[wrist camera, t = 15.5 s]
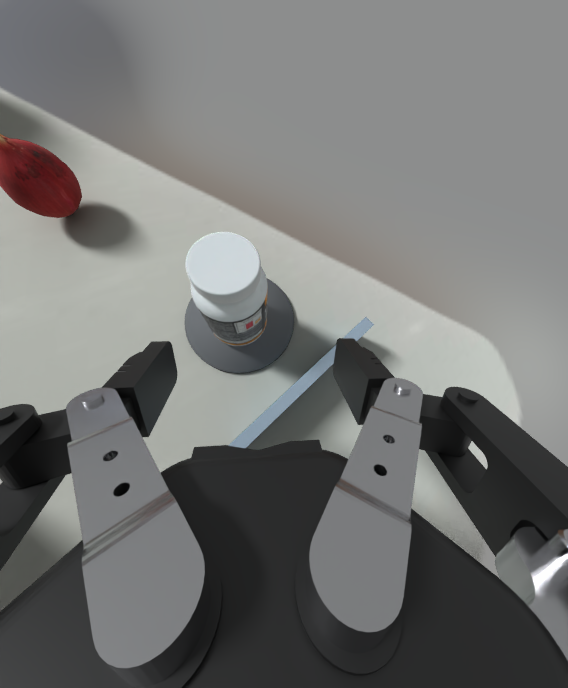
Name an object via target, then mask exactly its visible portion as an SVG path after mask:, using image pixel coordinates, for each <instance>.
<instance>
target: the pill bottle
mask: <svg viewBox="0 0 568 688" xmlns="http://www.w3.org/2000/svg"><path fill="white" fill-rule="evenodd" d="M186 271H187V275H188V277H189V279H190V281H191V294H192V298H193V300H194V302H195V304H196V306H197V308H198V310H199V311H200V313H201V314H202V316H203V317H204V319H205V321H206V322H207V324H208V326H209V328H210V329H211V331H212V332H213V333H214V335H215V336H216V337H217V338H218V339H219V340H220V341H222V342H223V343H226V344H228V345H232V346H244V345H248V344H250V343H252V342H254V341H255V340H257V339H258V338H259V337H260V336H261V334H262V333H263V331H264V330H265V327H266V323H267V293H268V285H267V278H266V275H265V273H264V271H263V269H262V267H261V261H260V257H259V254H258V251H257V249H256V248H255V246H254V245H253V244H252V243H251V242H250V241H249V240H247V239H246V238H244V237H243V236H240V235H238V234H235V233H231V232H216V233H212V234H208V235H206V236H204V237H202V238H200V239H199V240H198V241H196V242H195V243H194V244H193V246H192V247H191V248H190V250H189V252H188V254H187V257H186Z"/></svg>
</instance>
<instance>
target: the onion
mask: <svg viewBox="0 0 568 688" xmlns="http://www.w3.org/2000/svg"><path fill="white" fill-rule="evenodd" d="M0 186H1V187H2V189H3V190H4V191H5V192H6V193H7V194H8V195H9V197H11V198H12V199H13V200H14V201H15V202H16V203H17V204H18V205H20V206H22V207H23V208H25V209H27V210H29V211H32V212H34V213H36V214H39V215H42V216H47V217H56V218H61V217H67V216H69V215H71V214H73V213H74V212H75V211H76V210H77V209H78V207H79V204H80V201H81V198H82V194H81V189H80V186H79V182H78V180H77V178H76V176H75V175H74V173H73V172H72V171H71V169H70V168H69V167H68V166H67V165H66V164H65V163H64V162H62V161H61V160H60V159H59V158H58V157H56V156H55V155H54V154H53V153H51V152H50V151H48V150H47V149H45V148H43V147H41V146H39V145H37V144H34V143H32V142H28V141H25V140H20V139H10V138H7V137H5V136H3V135H1V134H0Z"/></svg>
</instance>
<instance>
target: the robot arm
mask: <svg viewBox="0 0 568 688" xmlns="http://www.w3.org/2000/svg"><path fill="white" fill-rule="evenodd" d="M333 373H334V377H335V379H336V381H337V383H338V385H339V387H340V389H341V391H342V393H343V395H344V397H345V399H346V401H347V403H348V405H349V407H350V409H351V412H352V414H353V416H354V418H355V420H356V422H357V424H358V425H363V427H362V429H361V432H360V434H359V436H358V439H357V441H356V443H355V446H354V448H353V450H352V453H351V455H350V457H349V460H348V459H347V458H345V457H343V456H341V455H339V454H336V453H333V452H330V451H326V450H322V448H321V445H320V441H319V440H307V441H290V442H286V443H283V444H279V445H276V446H272V447H269V448H265V449H262V450H252V449H246V448H240V447H234V446H227V445H223V446H206V447H194V450H193V454H192V457H191V458H190V459H186V460H184V461H181V462H179V463H177V464H175V465H173V466H171V467H169V468H167V469H166V470H164V471H162V472H161V473H160V471H159V470H158V468H157V466H156V464H155V462H154V460H153V458H152V456H151V454H150V452H149V450H148V448H147V446H146V444H145V442H144V440H143V438H142V437H149V435H150V433H151V431H152V429H153V427H154V425H155V423H156V421H157V419H158V417H159V415H160V413H161V411H162V409H163V407H164V405H165V404H166V402H167V400H168V398H169V396H170V394H171V392H172V390H173V388H174V386H175V384H176V381H177V368H176V363H175V358H174V353H173V348H172V344H171V343H170V342H169V341H162V342H151V343H150V344H149V345H148V346H147V347H146V348H145V350H144V351H143V352H139V353H137V354H135V355H134V356H132V357H130V358H129V359H128V360H127V361H126V362H125V363H124V364H123V366H121V367H120V368H119V370H118V372H116V373H115V374H114V375H113V376H112V377H111V378H110V379H109V380H108V381H107V382H106V383H105V385H104V386H103V387H102V388H97V389H93V390H89V391H87V392H84V393H82V394H80V395H78V396H76V397H75V398H74V399H72V400H71V401H70V402H69V403H68V405H67V407H66V409H64V410H60V411H55V412H51V413H46V414H42V415H38V414H37V412H36V410H35V408H34V407H33V406H32V405H29V404H19V405H13V406H9V407H5V408H2V409H0V479H1V480H2V481H3V482H2V484H1V485H0V570H1V569H2V567H3V566H4V564H5V563H6V561H7V560H8V559H9V557H10V556H11V554H12V553H13V551H14V550H15V548H16V547H17V545H18V544H19V543H20V541H21V540H22V538H23V537H24V535H25V534H26V532H27V531H28V529H29V528H30V526H31V525H32V524H33V522H34V521H35V519H36V518H37V516H38V515H39V513H40V512H41V510H42V509H43V508H44V506H45V505H46V503H47V502H48V500H49V499H50V497H51V496H52V494H53V493H54V491H55V490H56V489H57V487H58V486H59V484H60V483H61V481H62V480H63V478H64V477H65V475H67V474H70V473H72V478H73V484H74V490H75V496H76V502H77V508H78V514H79V520H80V527H81V533H82V539H83V540H82V541H81V542H80V543H79V544H77V545H76V546H75V547H74V548H73V549H72V550H71V551H69V552H68V553H67V554H66V555H65V556H64V557H63V558H61V559H60V560H59V561H58V562H57V563H56V564H55V565H53V566H52V567H51V568H50V569H49V570H48V571H47V572H45V573H44V574H43V575H42V576H41V577H40V578H39V579H37V580H36V581H35V582H34V583H33V584H32V585H31V586H29V587H28V588H27V589H26V590H25V591H24V592H23V593H21V594H20V595H19V596H18V597H17V598H16V599H15V600H13V601H12V602H11V603H10V604H9V605H8V606H7V607H5V608H4V609H3V610H2V611H1V612H0V688H568V467H567V466H566V465H565V464H563V463H562V462H561V461H560V460H559V459H557V458H556V457H555V456H554V455H553V454H551V453H550V452H549V451H548V450H547V449H545V448H544V447H543V446H542V445H541V444H539V443H538V442H537V441H536V440H535V439H533V438H532V437H531V436H530V435H529V434H527V433H526V432H525V431H524V430H523V429H521V428H520V427H519V426H518V425H517V424H515V423H514V422H513V421H512V420H511V419H509V418H508V417H507V416H506V415H505V414H503V413H502V412H501V411H500V410H499V409H497V408H496V407H495V406H494V405H493V404H491V403H490V402H489V401H488V400H487V399H485V398H484V397H483V396H481V395H480V394H478V393H476V392H474V391H471V390H469V389H465V388H461V387H449V388H447V389H446V390H445V392H444V395H443V397H438V396H432V395H426V394H423V392H422V390H421V389H420V388H419V387H418V386H417V385H416V384H414V383H412V382H410V381H408V380H405V379H400V378H395V377H394V376H393V375H392V374H391V373H390V372H389V371H388V369H387V368H386V367H385V366H384V365H383V364H382V363H381V362H380V360H379V359H378V358H377V357H376V356H375V355H374V354H373V352H371V351H369V350H367V349H366V348H362V347H361V346H360V345H359V344H358V343H357V341H356V340H355V339H354V338H339V339H338V340H337V343H336V350H335V357H334V364H333ZM471 441H473V442H474V443H475V444H476V446H477V447H478V448H479V449H480V450H481V451H482V452H483V453H484V455H485V457H486V459H487V463H488V468H487V470H486V469H485V468H484V467H483V465H482V464H481V463H480V462H479V461H478V460H477V458H476V457H475V456H474V455H473V454H472V453H471V451H470V450H469V449H468V447H469V445H470V443H471ZM419 449H421V450H425V451H426V453H427V454H428V456H429V457H430V459H431V460H432V462H433V463H434V465H435V466H436V468H437V469H438V471H439V472H440V474H441V475H442V477H443V478H444V480H445V481H446V483H447V484H448V486H449V487H450V489H451V490H452V492H453V493H454V495H455V496H456V498H457V499H458V501H459V502H460V504H461V505H462V507H463V508H464V510H465V511H466V513H467V514H468V516H469V517H470V519H471V520H472V522H473V523H474V525H475V526H476V528H477V529H478V531H479V533H480V534H481V536H482V537H483V539H484V540H485V542H486V543H487V545H488V546H489V548H490V549H491V551H492V552H493V554H494V555H495V557H496V560H495V564H496V569H497V572H498V575H499V577H500V579H499V578H498V577H497V576H496V575H494V574H493V573H491V571H489V570H488V569H487V568H485V567H484V566H483V565H482V564H480V563H479V562H478V561H477V560H475V559H474V558H473V557H472V556H470V555H469V554H468V553H467V552H465V551H464V550H463V549H462V548H460V547H459V546H458V545H457V544H455V543H454V542H453V541H452V540H450V539H449V538H448V537H447V536H445V535H444V534H443V533H442V532H440V531H439V530H438V529H436V528H435V527H434V526H433V525H431V524H430V523H429V522H428V521H426V520H425V519H424V518H423V517H421V516H420V515H419V514H418V513H416V512H415V511H414V510H413V509H411V506H412V498H413V491H414V483H415V475H416V468H417V460H418V452H419Z"/></svg>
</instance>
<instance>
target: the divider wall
mask: <svg viewBox="0 0 568 688" xmlns="http://www.w3.org/2000/svg"><path fill="white" fill-rule="evenodd" d="M373 325H374V324H373V323H372V322H371V321H370V320H369V319H368V318H367V317H365V318H364V319H363V320H362V321H361V322H360V323H359V324H358V325H357V326H355V327H354V328H353V329H352V330H351V331H350V332H349V333H348V334H347V335H346V336H345V337H344V338H354V339H355V340H356V341H357V340H358V339H359V338H361V337H362V336H363V335H364V334H365V333H366V332H367V331H368V330H369V329H370V328H371V327H372V326H373ZM335 350H336V345H335V346H334V347H333V348H332V349H331V350H330V351H329V352H328V353H327V354H326V355H324V356H323V357H322V358H321V359H320V360H319V361H318V362H317V363H316V364H315V365H314V366H313V367H312V368H311V369H310V370H308V371H307V372H306V373H305V374H304V375H303V376H302V377H301V378H300V379H299V380H298V381H297V382H296V383H295V384H293V385H292V386H291V387H290V388H289V389H288V390H287V391H286V392H285V393H284V394H283V395H282V396H281V397H280V398H279V399H277V400H276V401H275V402H274V403H273V404H272V405H271V406H270V407H269V408H268V409H267V410H266V411H265V412H264V413H263V414H261V415H260V416H259V417H258V418H257V419H256V420H255V421H254V422H253V423H252V424H251V425H250V426H249V427H248V428H246V429H245V430H244V431H243V432H242V433H241V434H240V435H239V436H238V437H237V438H236V439H235V440H234V441H233V442H232V443H231V444H229V445H228V446H234V447H240V448H246V447H247V446H248V445H249V444H250V443H251V442H252V441H253V440H254V439H255V438H257V437H258V436H259V435H260V434H261V433H262V432H263V431H264V430H265V429H266V428H267V427H268V426H269V425H270V424H271V423H272V422H273V421H274V420H275V419H276V418H277V417H278V416H279V415H280V414H281V413H283V412H284V411H285V410H286V409H287V408H288V407H289V406H290V405H291V404H292V403H293V402H294V401H295V400H296V399H297V398H298V397H299V396H300V395H301V394H302V393H303V392H304V391H305V390H306V389H307V388H309V387H310V386H311V385H312V384H313V383H314V382H315V381H316V380H317V379H318V378H319V377H320V376H321V375H322V374H323V373H324V372H325V371H326V370H327V369H328V368H329V367H330V366H331V365H332V364H333V363H334V357H335Z"/></svg>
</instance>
